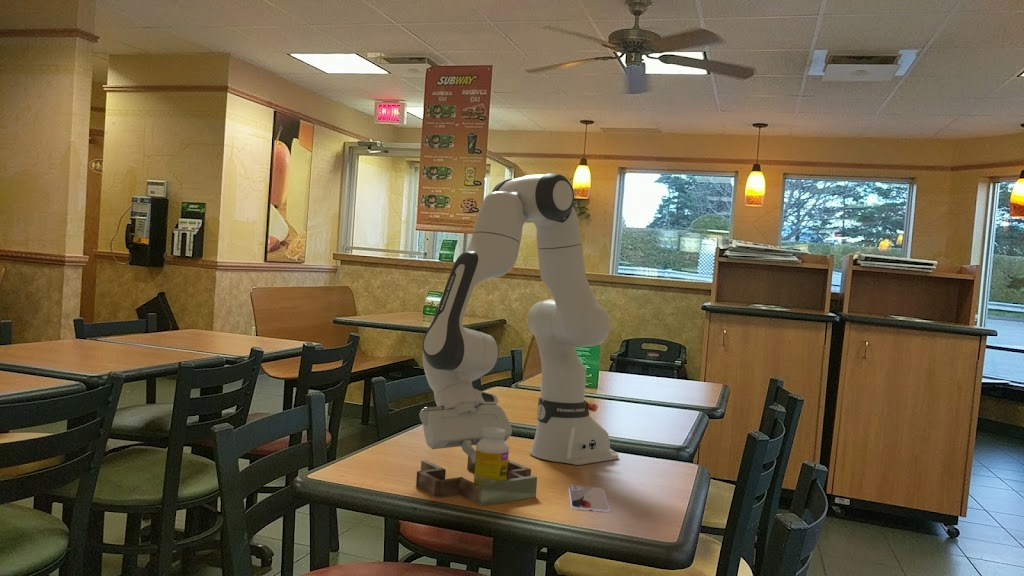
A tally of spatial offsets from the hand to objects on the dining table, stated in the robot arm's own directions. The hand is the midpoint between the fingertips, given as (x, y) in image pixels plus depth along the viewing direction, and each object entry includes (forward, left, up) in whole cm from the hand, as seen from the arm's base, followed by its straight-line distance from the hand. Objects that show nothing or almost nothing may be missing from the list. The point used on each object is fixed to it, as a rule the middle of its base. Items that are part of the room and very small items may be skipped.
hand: (480, 461), depth 150 cm
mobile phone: (-18, +13, -6) cm, 23 cm away
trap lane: (0, -1, -5) cm, 6 cm away
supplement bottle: (-1, +4, -6) cm, 7 cm away
